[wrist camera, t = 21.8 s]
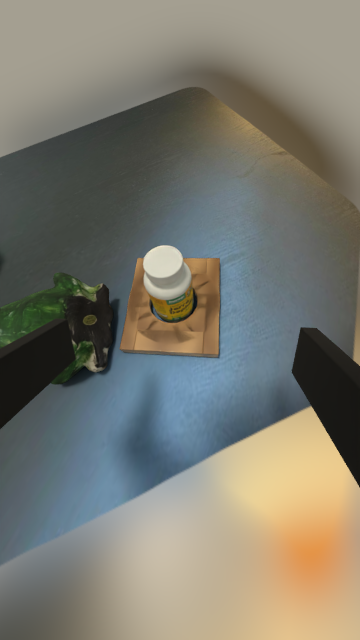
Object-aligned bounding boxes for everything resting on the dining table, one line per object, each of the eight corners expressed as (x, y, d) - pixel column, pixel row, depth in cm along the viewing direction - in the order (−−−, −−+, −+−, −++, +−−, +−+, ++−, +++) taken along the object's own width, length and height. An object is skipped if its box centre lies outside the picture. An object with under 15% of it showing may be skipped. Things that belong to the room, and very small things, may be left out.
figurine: (114, 275, 30) (17, 282, 32) (74, 254, 21) (-57, 265, 23) (117, 376, 29) (17, 376, 31) (77, 397, 20) (-57, 395, 23)
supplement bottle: (175, 282, 32) (165, 231, 23) (202, 305, 30) (202, 258, 21) (147, 306, 30) (125, 261, 22) (173, 331, 29) (160, 293, 20)
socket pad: (219, 264, 32) (220, 258, 31) (218, 357, 27) (219, 354, 25) (139, 264, 34) (137, 257, 32) (122, 352, 28) (118, 349, 27)
